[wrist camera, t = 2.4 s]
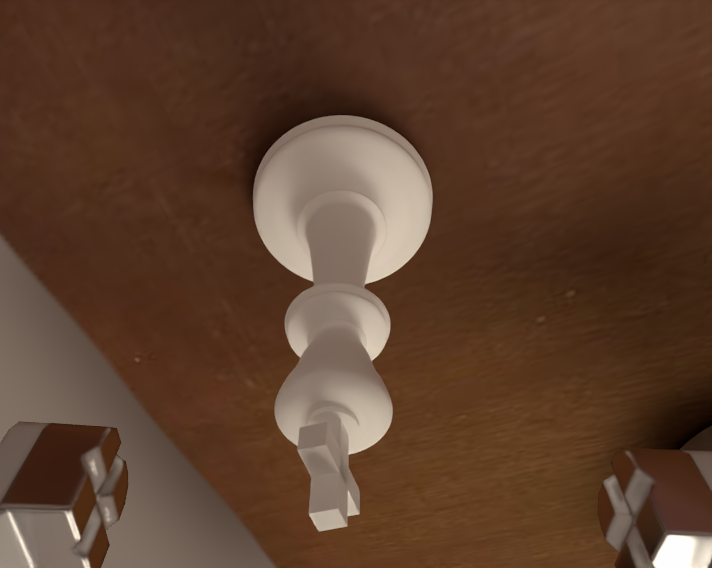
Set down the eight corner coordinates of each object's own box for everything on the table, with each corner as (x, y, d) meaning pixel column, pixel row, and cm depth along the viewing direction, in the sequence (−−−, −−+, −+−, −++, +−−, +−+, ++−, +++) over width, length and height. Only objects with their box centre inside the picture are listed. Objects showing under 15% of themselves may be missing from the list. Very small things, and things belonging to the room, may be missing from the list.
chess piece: (407, 90, 15) (465, 356, 7) (448, 252, 18) (526, 584, 10) (224, 144, 16) (84, 440, 8) (290, 292, 19) (236, 629, 10)
